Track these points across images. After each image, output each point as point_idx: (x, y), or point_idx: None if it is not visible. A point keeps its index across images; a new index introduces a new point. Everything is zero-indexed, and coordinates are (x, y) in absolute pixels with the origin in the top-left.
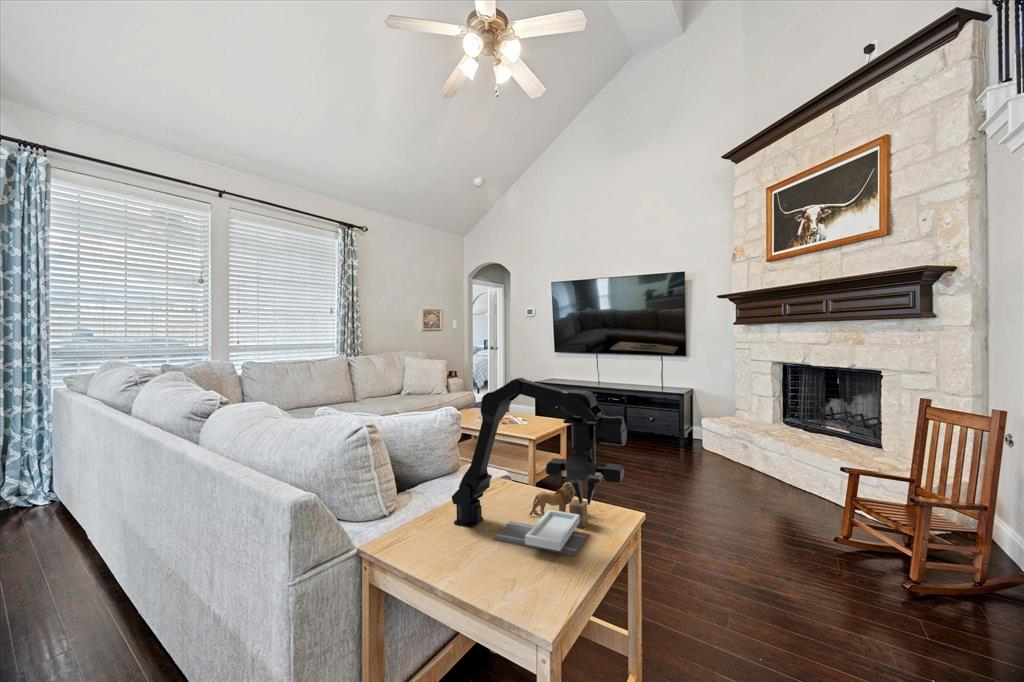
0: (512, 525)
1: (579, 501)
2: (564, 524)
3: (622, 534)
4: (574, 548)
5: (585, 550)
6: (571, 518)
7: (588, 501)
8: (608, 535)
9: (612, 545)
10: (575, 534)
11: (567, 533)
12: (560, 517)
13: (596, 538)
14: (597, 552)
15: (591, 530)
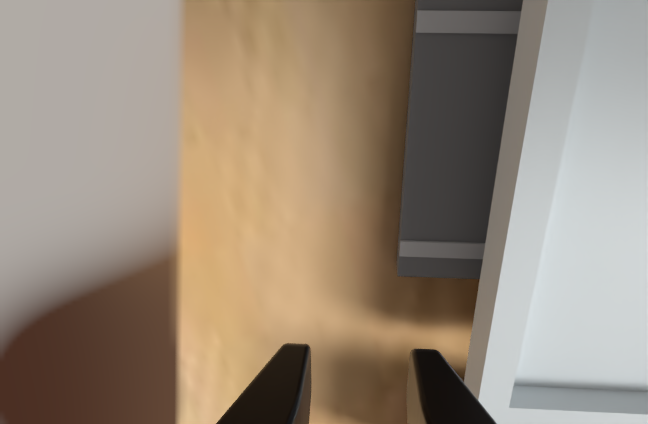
0: None
1: (450, 369)
2: (578, 282)
3: (190, 368)
4: (436, 51)
5: (358, 99)
6: (532, 386)
7: (282, 377)
8: (263, 336)
9: (203, 228)
10: (469, 257)
11: (526, 95)
12: (627, 380)
13: (325, 281)
14: (268, 102)
15: (381, 363)
